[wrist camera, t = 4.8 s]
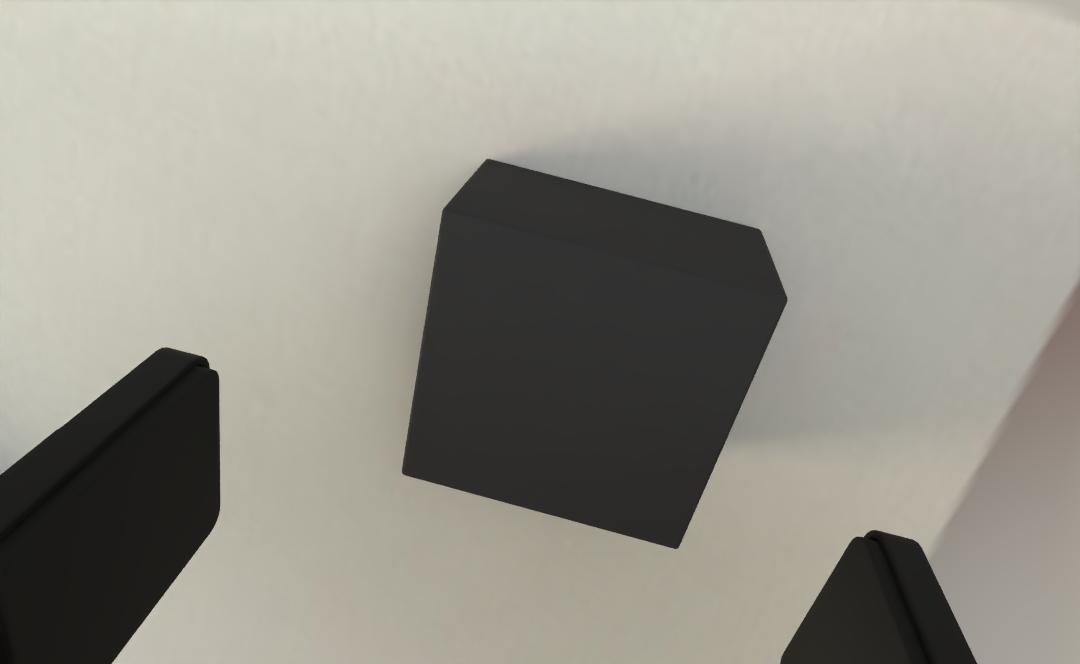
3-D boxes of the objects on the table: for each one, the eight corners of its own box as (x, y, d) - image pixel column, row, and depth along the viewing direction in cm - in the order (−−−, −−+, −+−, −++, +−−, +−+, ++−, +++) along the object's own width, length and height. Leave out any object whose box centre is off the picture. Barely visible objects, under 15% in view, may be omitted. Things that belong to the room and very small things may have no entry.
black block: (762, 228, 15) (790, 299, 12) (674, 449, 18) (678, 551, 15) (486, 156, 15) (441, 207, 12) (444, 387, 18) (400, 475, 15)
